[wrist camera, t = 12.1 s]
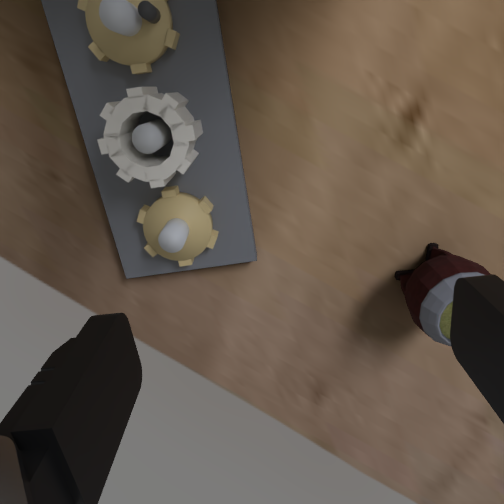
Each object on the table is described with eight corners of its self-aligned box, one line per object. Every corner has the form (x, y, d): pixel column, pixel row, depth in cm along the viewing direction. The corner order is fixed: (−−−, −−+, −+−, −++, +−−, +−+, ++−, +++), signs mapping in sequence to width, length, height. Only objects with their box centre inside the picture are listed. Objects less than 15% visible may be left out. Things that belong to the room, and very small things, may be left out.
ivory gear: (107, 94, 30) (84, 95, 26) (193, 80, 30) (183, 79, 25) (130, 180, 32) (112, 193, 28) (209, 168, 32) (203, 180, 28)
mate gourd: (387, 306, 39) (461, 429, 25) (395, 231, 36) (485, 323, 22) (464, 304, 39) (581, 425, 25) (478, 228, 36) (621, 318, 22)
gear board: (40, -30, 28) (-6, -55, 23) (206, -61, 27) (195, -94, 22) (131, 271, 37) (111, 300, 32) (256, 254, 37) (257, 281, 32)
